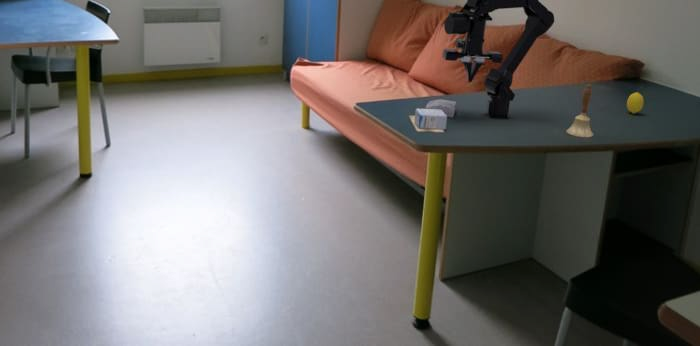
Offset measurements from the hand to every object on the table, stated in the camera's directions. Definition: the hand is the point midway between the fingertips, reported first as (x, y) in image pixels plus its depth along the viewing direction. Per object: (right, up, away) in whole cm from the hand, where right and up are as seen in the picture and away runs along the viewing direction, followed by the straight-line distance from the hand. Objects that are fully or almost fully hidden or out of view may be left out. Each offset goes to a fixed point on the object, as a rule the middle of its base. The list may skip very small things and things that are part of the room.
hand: (469, 82), depth 238 cm
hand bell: (+34, -17, -6) cm, 39 cm away
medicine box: (-9, -13, -10) cm, 19 cm away
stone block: (-9, -10, +9) cm, 16 cm away
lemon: (+63, -9, +24) cm, 68 cm away
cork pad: (-15, -14, -7) cm, 22 cm away
